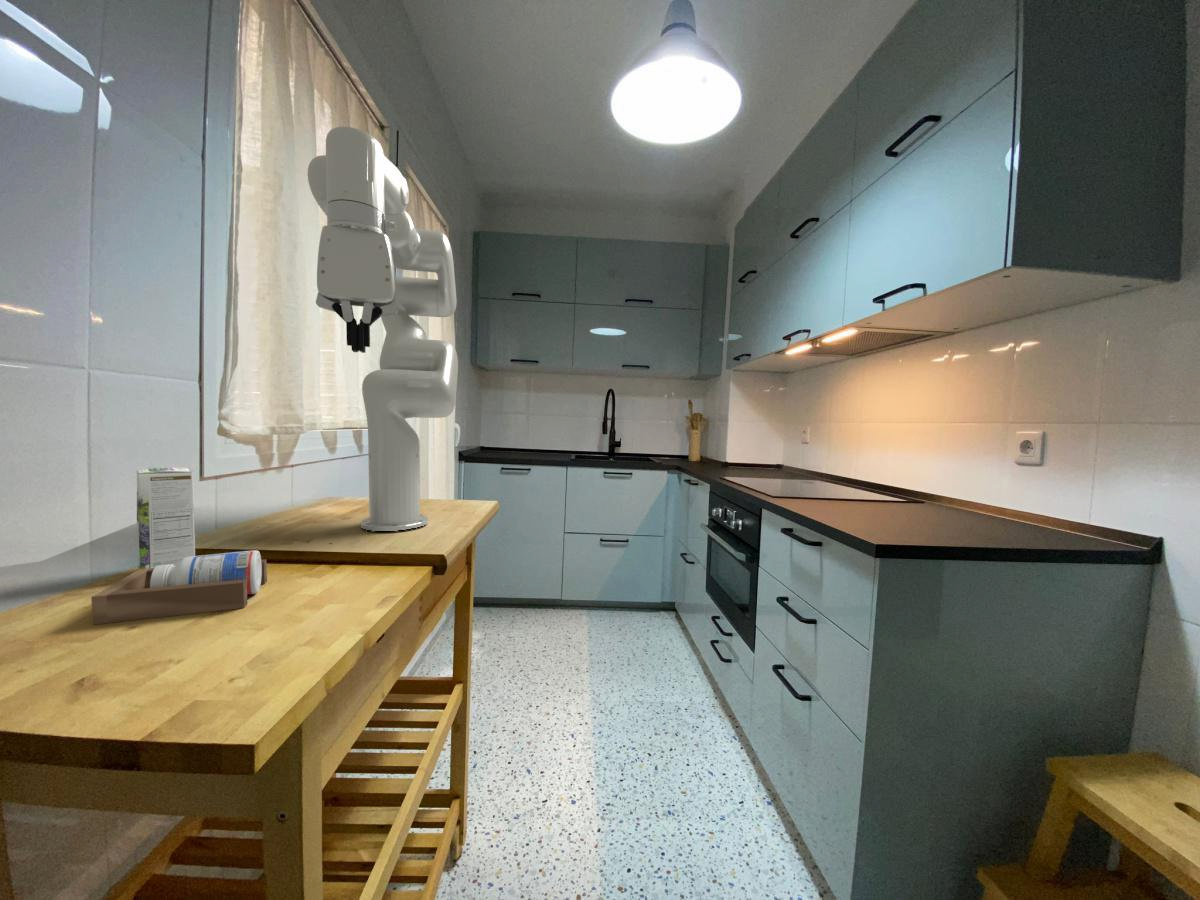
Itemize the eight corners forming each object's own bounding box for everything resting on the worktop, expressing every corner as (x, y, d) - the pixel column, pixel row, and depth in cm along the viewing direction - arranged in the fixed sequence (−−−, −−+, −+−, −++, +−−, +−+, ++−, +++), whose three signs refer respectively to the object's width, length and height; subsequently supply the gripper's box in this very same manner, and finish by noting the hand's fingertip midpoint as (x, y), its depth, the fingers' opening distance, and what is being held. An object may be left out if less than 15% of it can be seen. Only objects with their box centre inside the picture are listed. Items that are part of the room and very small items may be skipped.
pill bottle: (262, 590, 61) (164, 603, 57) (262, 549, 62) (165, 558, 57) (254, 596, 56) (146, 610, 52) (254, 550, 57) (148, 560, 52)
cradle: (140, 592, 58) (139, 569, 58) (267, 581, 63) (266, 559, 63) (92, 624, 49) (91, 596, 49) (244, 607, 54) (243, 582, 54)
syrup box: (137, 570, 66) (132, 468, 65) (192, 561, 71) (188, 466, 70) (140, 580, 62) (135, 472, 61) (198, 570, 67) (194, 469, 66)
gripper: (411, 241, 75) (412, 357, 76) (302, 225, 69) (305, 351, 71) (411, 224, 68) (412, 352, 69) (290, 204, 62) (294, 344, 64)
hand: (358, 351), depth 70 cm, fingers closed
